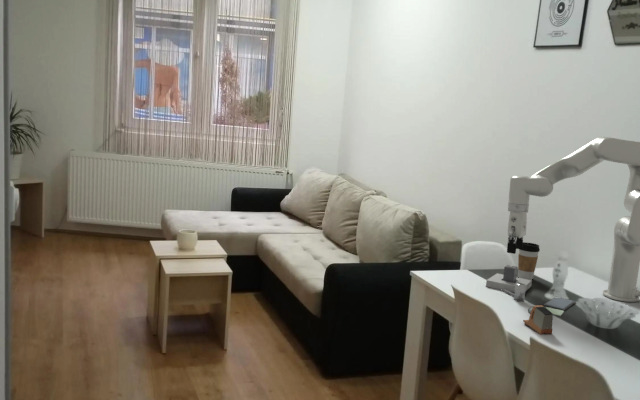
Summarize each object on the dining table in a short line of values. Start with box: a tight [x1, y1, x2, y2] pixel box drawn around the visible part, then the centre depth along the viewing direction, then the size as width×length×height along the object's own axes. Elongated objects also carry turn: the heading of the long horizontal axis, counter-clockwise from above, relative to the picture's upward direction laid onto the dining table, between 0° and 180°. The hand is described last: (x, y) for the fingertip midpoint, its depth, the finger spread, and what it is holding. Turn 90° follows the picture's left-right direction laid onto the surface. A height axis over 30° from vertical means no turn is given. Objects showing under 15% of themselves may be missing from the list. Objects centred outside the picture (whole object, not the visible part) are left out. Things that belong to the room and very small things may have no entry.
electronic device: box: [522, 304, 554, 335], centre depth 186 cm, size 4×10×8 cm, turn 16°
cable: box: [501, 289, 514, 298], centre depth 223 cm, size 8×1×1 cm, turn 19°
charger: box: [503, 264, 518, 283], centre depth 233 cm, size 4×4×8 cm
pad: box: [545, 307, 565, 317], centre depth 204 cm, size 6×6×1 cm
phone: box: [542, 296, 576, 312], centre depth 214 cm, size 7×14×1 cm, turn 141°
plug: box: [513, 283, 526, 303], centre depth 215 cm, size 4×4×6 cm
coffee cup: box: [517, 241, 540, 281], centre depth 246 cm, size 8×8×15 cm
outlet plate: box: [485, 272, 533, 293], centre depth 233 cm, size 14×14×2 cm
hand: (514, 250), depth 231 cm, fingers open, 9 cm apart
